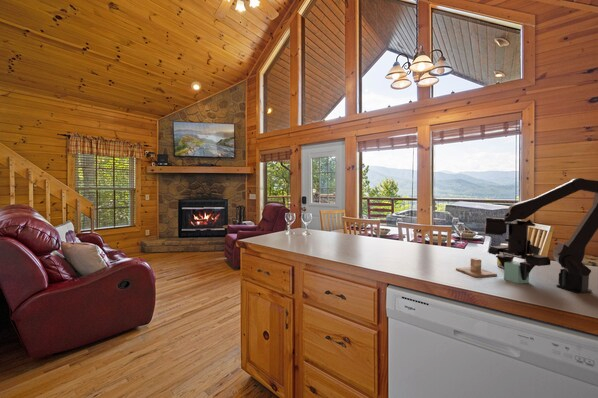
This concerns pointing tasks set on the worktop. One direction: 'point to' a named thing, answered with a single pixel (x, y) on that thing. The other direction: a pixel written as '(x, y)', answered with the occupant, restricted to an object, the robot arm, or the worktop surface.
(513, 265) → the mint tissue box
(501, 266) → the supplement bottle
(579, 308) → the worktop surface
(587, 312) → the worktop surface
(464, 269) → the post fixture
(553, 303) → the worktop surface
